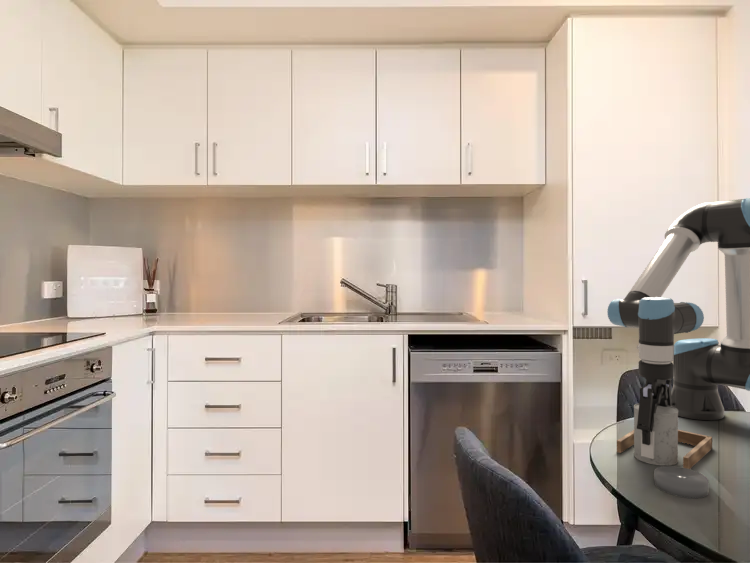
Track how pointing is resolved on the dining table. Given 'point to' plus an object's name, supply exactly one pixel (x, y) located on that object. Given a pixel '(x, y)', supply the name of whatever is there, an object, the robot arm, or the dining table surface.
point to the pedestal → (681, 482)
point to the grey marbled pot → (660, 436)
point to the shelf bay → (691, 458)
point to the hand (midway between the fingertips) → (655, 451)
